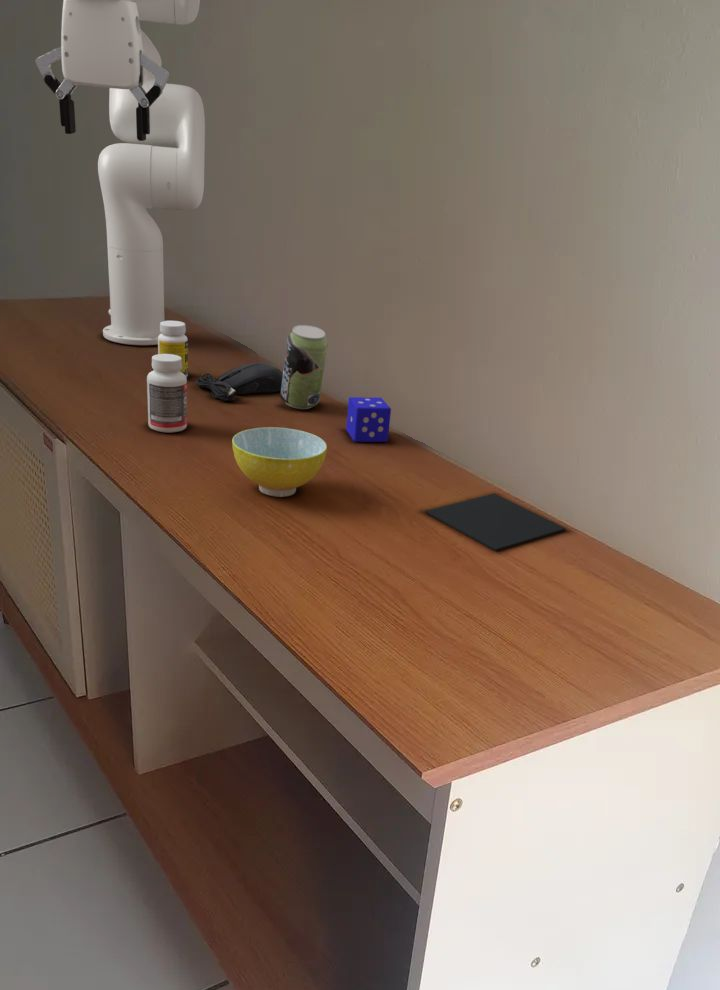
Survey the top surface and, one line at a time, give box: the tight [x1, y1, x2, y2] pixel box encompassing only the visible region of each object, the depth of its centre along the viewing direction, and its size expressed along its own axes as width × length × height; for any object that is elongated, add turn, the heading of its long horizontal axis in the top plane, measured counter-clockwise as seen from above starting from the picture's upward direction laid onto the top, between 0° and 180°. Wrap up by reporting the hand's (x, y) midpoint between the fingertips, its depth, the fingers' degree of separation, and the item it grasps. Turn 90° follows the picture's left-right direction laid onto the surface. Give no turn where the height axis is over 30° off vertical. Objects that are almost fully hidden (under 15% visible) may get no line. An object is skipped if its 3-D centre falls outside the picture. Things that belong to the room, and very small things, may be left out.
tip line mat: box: [424, 493, 566, 552], centre depth 113 cm, size 12×12×1 cm
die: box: [345, 396, 392, 443], centre depth 135 cm, size 5×5×5 cm
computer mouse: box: [194, 362, 283, 402], centre depth 149 cm, size 10×15×4 cm
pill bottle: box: [146, 353, 188, 434], centre depth 129 cm, size 5×5×10 cm
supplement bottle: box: [157, 320, 189, 378], centre depth 151 cm, size 5×5×8 cm
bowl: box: [231, 426, 328, 498], centre depth 114 cm, size 11×12×6 cm
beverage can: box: [279, 324, 329, 410], centre depth 142 cm, size 6×7×12 cm
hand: (106, 136), depth 128 cm, fingers open, 9 cm apart
